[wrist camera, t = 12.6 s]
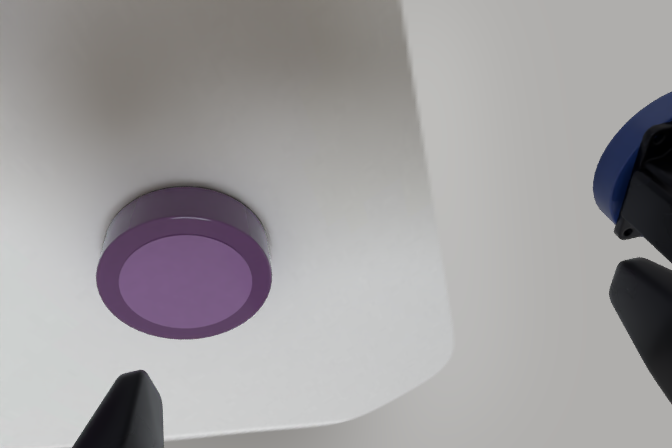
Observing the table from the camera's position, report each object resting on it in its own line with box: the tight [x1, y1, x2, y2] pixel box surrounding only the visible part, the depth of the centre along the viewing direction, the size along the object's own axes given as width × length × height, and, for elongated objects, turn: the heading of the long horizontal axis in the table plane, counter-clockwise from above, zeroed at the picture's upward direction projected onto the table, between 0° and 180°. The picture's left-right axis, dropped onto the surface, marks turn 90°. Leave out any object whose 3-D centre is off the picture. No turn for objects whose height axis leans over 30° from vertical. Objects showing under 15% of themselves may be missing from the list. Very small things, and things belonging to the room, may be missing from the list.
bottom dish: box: [96, 187, 272, 339], centre depth 20 cm, size 7×7×2 cm
